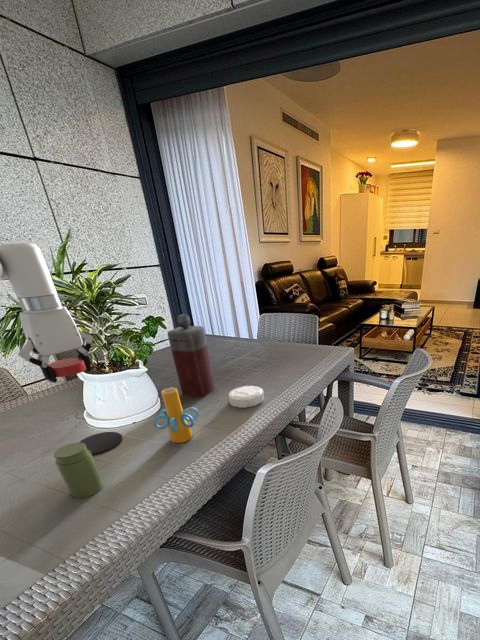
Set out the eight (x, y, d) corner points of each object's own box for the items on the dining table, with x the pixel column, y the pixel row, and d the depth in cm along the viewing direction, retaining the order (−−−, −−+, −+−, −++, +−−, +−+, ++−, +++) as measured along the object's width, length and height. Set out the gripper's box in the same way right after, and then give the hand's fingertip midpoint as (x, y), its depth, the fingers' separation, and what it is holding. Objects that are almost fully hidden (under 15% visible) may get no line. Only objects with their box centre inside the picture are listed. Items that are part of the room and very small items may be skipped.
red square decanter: (189, 385, 137) (172, 311, 123) (215, 387, 135) (201, 312, 121) (176, 394, 130) (156, 317, 116) (203, 397, 127) (186, 317, 113)
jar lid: (84, 364, 93) (80, 355, 92) (89, 371, 88) (85, 362, 87) (49, 371, 89) (45, 362, 88) (52, 379, 84) (48, 370, 83)
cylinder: (210, 433, 104) (200, 386, 96) (185, 451, 96) (171, 401, 88) (179, 426, 108) (167, 380, 101) (152, 442, 100) (137, 394, 93)
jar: (64, 494, 81) (44, 455, 76) (90, 477, 87) (73, 439, 81) (85, 500, 79) (66, 460, 74) (110, 482, 84) (94, 444, 79)
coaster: (65, 451, 98) (64, 449, 97) (101, 430, 107) (101, 429, 107) (96, 459, 94) (95, 457, 93) (131, 436, 103) (131, 435, 103)
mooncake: (271, 397, 124) (270, 388, 123) (247, 411, 116) (246, 401, 114) (246, 391, 130) (245, 382, 129) (222, 403, 122) (220, 393, 120)
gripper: (71, 296, 89) (96, 363, 97) (-12, 309, 76) (25, 385, 84) (88, 298, 85) (111, 367, 94) (3, 312, 72) (40, 390, 81)
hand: (70, 375), depth 89 cm, fingers closed on jar lid, 7 cm apart
